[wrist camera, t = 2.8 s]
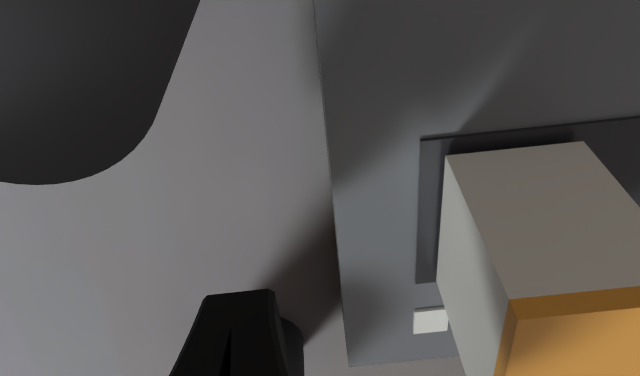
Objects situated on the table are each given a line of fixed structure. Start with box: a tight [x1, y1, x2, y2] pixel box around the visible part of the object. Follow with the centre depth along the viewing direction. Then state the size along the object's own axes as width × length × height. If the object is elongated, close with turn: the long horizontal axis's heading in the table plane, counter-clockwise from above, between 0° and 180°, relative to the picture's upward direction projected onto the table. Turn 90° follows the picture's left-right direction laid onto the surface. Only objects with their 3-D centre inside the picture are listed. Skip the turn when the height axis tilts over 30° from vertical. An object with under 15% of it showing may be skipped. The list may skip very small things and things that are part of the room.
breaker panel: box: [313, 0, 640, 367], centre depth 14 cm, size 14×12×2 cm
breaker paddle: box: [436, 141, 640, 376], centre depth 11 cm, size 3×4×4 cm
